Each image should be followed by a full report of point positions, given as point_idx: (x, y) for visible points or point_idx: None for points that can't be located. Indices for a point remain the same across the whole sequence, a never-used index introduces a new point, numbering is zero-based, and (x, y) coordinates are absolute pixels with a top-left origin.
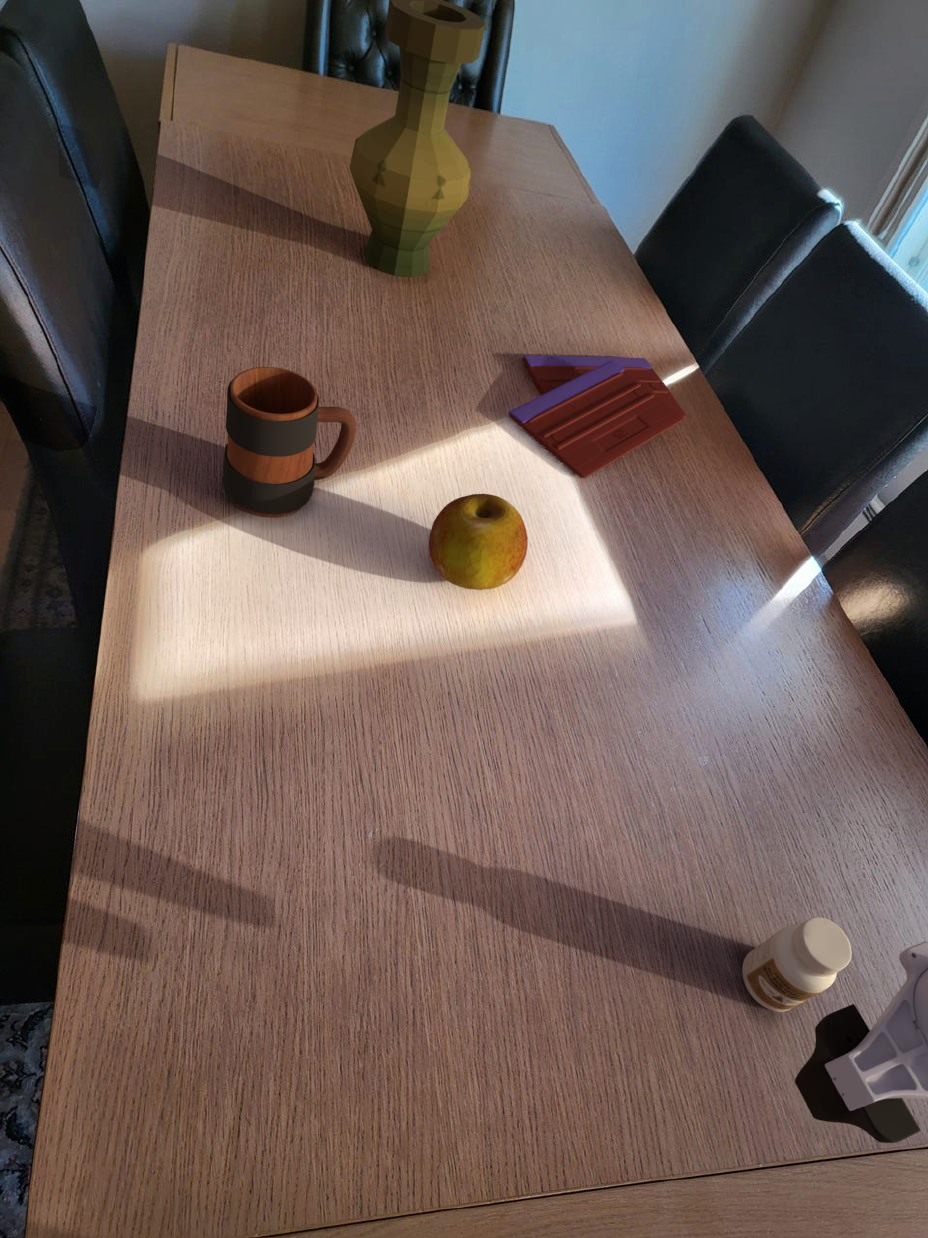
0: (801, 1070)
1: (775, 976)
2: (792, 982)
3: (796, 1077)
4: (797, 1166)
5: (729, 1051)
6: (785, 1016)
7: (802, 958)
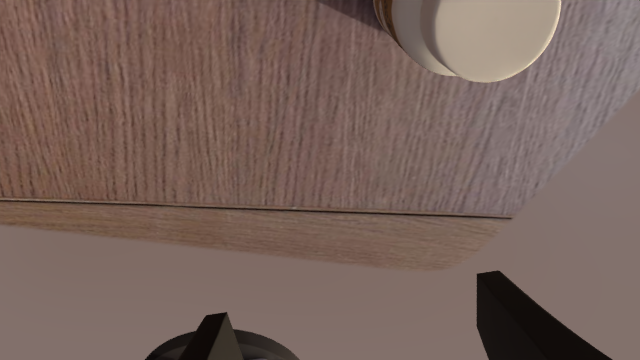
0: (189, 342)
1: (389, 23)
2: (406, 51)
3: (202, 321)
4: (342, 214)
5: (304, 85)
6: None
7: (424, 34)
